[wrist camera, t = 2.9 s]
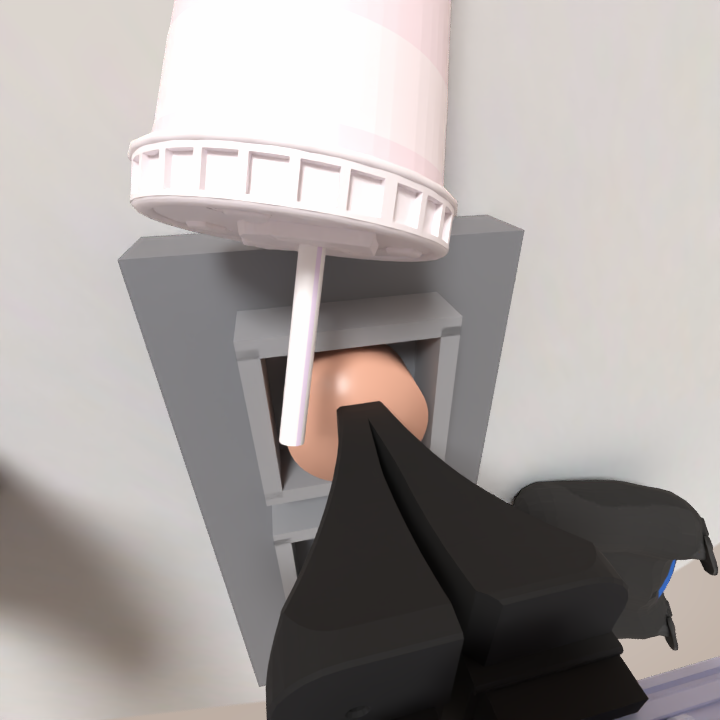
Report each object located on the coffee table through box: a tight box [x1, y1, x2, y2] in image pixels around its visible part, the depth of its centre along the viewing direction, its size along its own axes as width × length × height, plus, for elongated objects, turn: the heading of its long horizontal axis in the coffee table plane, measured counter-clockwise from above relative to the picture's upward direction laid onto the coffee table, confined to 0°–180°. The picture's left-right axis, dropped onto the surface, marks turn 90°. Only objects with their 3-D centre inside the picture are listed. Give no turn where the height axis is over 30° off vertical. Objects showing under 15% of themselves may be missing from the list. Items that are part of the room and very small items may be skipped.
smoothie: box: [127, 0, 458, 446], centre depth 8 cm, size 6×6×14 cm
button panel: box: [118, 215, 524, 687], centre depth 19 cm, size 12×26×4 cm, turn 1°
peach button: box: [283, 344, 428, 481], centre depth 13 cm, size 4×4×2 cm
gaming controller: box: [513, 480, 718, 650], centre depth 26 cm, size 17×6×10 cm
